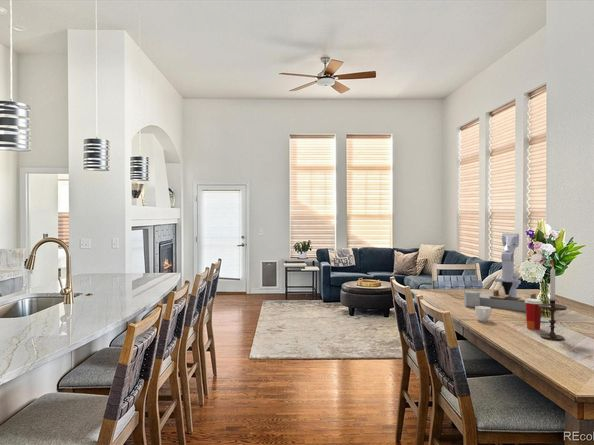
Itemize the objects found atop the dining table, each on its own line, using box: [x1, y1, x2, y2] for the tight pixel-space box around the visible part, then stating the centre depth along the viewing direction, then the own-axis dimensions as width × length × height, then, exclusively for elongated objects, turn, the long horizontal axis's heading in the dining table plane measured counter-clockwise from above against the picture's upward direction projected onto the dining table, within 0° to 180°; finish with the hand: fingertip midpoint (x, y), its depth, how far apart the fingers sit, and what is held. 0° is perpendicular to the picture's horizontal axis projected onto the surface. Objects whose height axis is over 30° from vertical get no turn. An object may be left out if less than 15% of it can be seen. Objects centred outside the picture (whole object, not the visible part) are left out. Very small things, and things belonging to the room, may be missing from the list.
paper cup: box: [525, 298, 544, 331], centre depth 219 cm, size 8×8×14 cm
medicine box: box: [463, 291, 481, 308], centre depth 275 cm, size 8×4×9 cm, turn 84°
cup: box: [474, 306, 492, 322], centre depth 236 cm, size 8×10×7 cm
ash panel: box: [518, 293, 538, 302], centre depth 267 cm, size 15×8×4 cm, turn 138°
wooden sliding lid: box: [489, 289, 511, 299], centre depth 277 cm, size 15×8×4 cm, turn 138°
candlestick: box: [539, 260, 567, 342], centre depth 202 cm, size 11×11×35 cm
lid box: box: [480, 293, 526, 312], centre depth 275 cm, size 16×32×5 cm, turn 48°
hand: (507, 294), depth 275 cm, fingers closed
